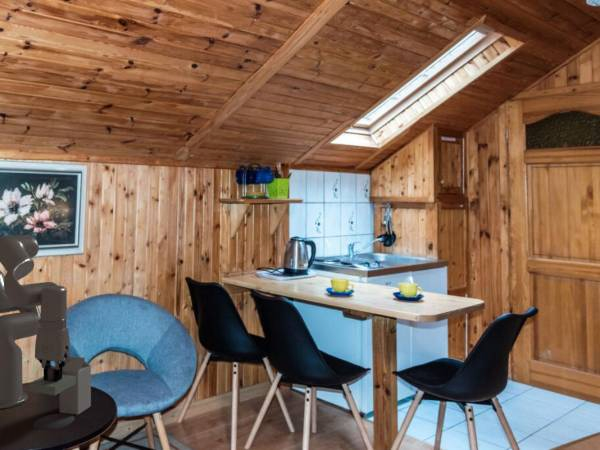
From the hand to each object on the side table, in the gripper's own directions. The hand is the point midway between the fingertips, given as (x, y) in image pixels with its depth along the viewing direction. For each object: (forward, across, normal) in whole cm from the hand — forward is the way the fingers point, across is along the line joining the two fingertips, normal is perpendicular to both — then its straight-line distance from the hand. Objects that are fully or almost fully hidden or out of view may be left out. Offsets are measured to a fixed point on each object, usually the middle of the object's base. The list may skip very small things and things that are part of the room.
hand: (52, 378), depth 158 cm
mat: (+15, +1, 0) cm, 15 cm away
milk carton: (+15, +1, +10) cm, 18 cm away
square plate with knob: (+3, 0, 0) cm, 3 cm away
